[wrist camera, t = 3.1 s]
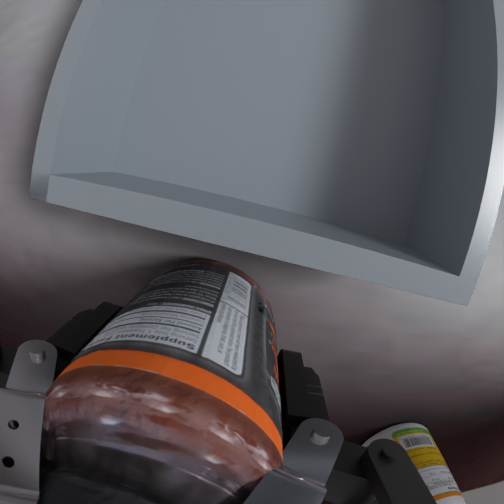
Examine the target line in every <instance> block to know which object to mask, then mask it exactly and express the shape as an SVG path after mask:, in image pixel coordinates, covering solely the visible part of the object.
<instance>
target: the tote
mask: <svg viewBox="0 0 504 504" xmlns="http://www.w3.org/2000/svg"><path fill="white" fill-rule="evenodd" d="M503 186H504V0H83V1H82V3H81V5H80V7H79V9H78V12H77V14H76V16H75V18H74V21H73V23H72V25H71V28H70V30H69V32H68V35H67V38H66V40H65V43H64V45H63V48H62V51H61V53H60V56H59V59H58V62H57V65H56V68H55V71H54V74H53V77H52V81H51V84H50V87H49V91H48V95H47V98H46V102H45V106H44V110H43V114H42V118H41V123H40V127H39V132H38V137H37V142H36V147H35V153H34V159H33V165H32V172H31V180H30V188H29V198H31V199H35V200H39V201H43V202H47V203H51V204H55V205H59V206H63V207H67V208H71V209H75V210H79V211H83V212H87V213H91V214H96V215H100V216H104V217H108V218H112V219H116V220H120V221H124V222H128V223H132V224H136V225H140V226H144V227H148V228H152V229H156V230H160V231H164V232H168V233H172V234H176V235H180V236H184V237H188V238H192V239H196V240H200V241H204V242H208V243H212V244H216V245H220V246H224V247H228V248H232V249H236V250H240V251H245V252H249V253H253V254H257V255H261V256H265V257H269V258H273V259H277V260H281V261H285V262H289V263H293V264H297V265H301V266H305V267H309V268H313V269H317V270H321V271H325V272H330V273H334V274H338V275H342V276H346V277H350V278H354V279H358V280H362V281H366V282H370V283H374V284H378V285H382V286H386V287H390V288H395V289H399V290H403V291H407V292H411V293H415V294H419V295H423V296H427V297H431V298H435V299H439V300H443V301H448V302H452V303H456V304H460V305H464V306H467V305H468V303H469V300H470V298H471V295H472V293H473V290H474V288H475V285H476V282H477V280H478V277H479V274H480V271H481V268H482V265H483V262H484V259H485V256H486V253H487V250H488V246H489V243H490V240H491V236H492V233H493V229H494V225H495V221H496V217H497V213H498V209H499V205H500V200H501V195H502V191H503Z"/></svg>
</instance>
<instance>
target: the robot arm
mask: <svg viewBox="0 0 504 504" xmlns="http://www.w3.org/2000/svg"><path fill="white" fill-rule="evenodd" d="M122 309H123V307H121V306H118V305H115V304H112V303H109V302H106V301H105V302H103V303H102V304H100V305H99V306H98V307H97V308H96V309H95V310H91V309H89V310H86V311H83V312H80V313H78V314H77V315H76V316H75V317H73V318H72V320H70V321H69V322H67V323H66V325H65V326H63V327H62V328H60V329H59V330H58V331H57V332H56V333H55V334H53V335H52V336H51V337H50V338H49V339H48V340H47V341H43V340H30V341H27V342H25V343H23V344H22V345H20V347H19V348H14V347H10V346H6V345H2V344H1V341H0V504H41V498H42V491H43V483H44V473H45V472H52V471H53V470H54V460H51V459H48V458H47V456H46V447H47V439H48V437H49V435H48V431H47V426H46V417H45V393H46V392H47V390H48V389H49V388H50V386H51V385H52V383H53V382H54V381H55V380H56V379H57V377H58V376H59V375H60V374H61V373H62V372H63V371H64V370H65V368H66V367H68V366H69V365H70V364H71V362H72V360H73V359H74V358H75V357H76V356H77V355H78V354H79V353H80V352H81V351H82V349H83V348H84V347H85V346H86V345H87V344H88V343H89V342H90V341H91V340H92V339H93V338H94V337H95V336H96V335H97V334H98V333H99V332H100V331H101V330H102V329H103V328H104V327H105V326H106V325H107V324H108V323H109V322H110V321H111V320H112V319H113V318H114V317H115V316H116V315H117V314H118V313H119V312H120V311H121V310H122ZM277 364H278V380H279V392H280V401H281V417H282V442H283V452H282V454H283V468H284V469H282V468H280V467H275V468H274V469H273V470H271V471H270V472H267V473H266V474H265V475H264V477H263V478H262V479H261V481H260V482H259V483H258V485H257V486H256V487H255V489H254V490H253V491H252V493H251V494H250V495H249V497H248V498H247V499H246V501H245V502H244V503H243V504H321V503H322V501H323V500H327V501H330V502H331V504H437V503H436V501H435V499H434V498H433V496H432V494H431V492H430V491H429V489H428V487H427V486H426V484H425V482H424V480H423V479H422V477H421V475H420V474H419V472H418V470H417V469H416V467H415V465H414V463H413V462H412V460H411V458H410V457H409V455H408V453H407V452H406V450H405V449H404V448H403V447H402V446H401V445H400V444H399V443H397V442H395V441H393V440H390V439H384V438H383V439H376V440H374V441H373V442H371V443H370V445H369V446H368V447H364V446H361V445H358V444H354V443H351V442H348V441H346V440H344V437H343V434H342V432H341V430H340V429H339V428H338V427H337V426H336V425H335V424H333V423H331V422H329V417H328V413H327V409H326V404H325V400H324V396H323V392H322V388H321V384H320V379H319V377H318V375H317V374H316V373H315V372H314V370H313V369H312V368H309V367H304V365H303V360H302V355H301V353H299V352H294V351H289V350H284V349H281V350H280V352H279V354H278V357H277Z"/></svg>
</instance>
